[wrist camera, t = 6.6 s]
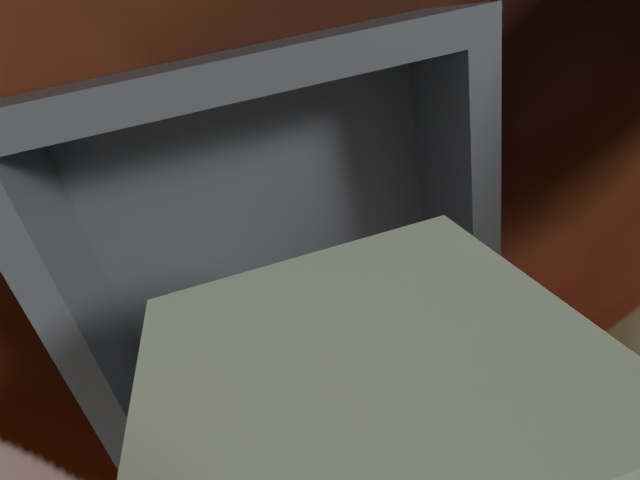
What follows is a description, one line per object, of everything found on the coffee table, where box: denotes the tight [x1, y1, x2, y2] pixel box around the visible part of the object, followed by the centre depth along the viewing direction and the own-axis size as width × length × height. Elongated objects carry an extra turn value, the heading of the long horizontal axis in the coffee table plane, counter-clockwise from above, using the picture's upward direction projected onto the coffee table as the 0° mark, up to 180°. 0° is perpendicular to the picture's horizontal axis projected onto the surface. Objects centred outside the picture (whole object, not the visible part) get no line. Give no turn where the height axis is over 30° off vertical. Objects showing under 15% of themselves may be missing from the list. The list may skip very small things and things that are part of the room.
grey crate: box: [0, 0, 502, 470], centre depth 16 cm, size 14×14×4 cm
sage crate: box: [117, 215, 640, 480], centre depth 8 cm, size 6×6×6 cm
